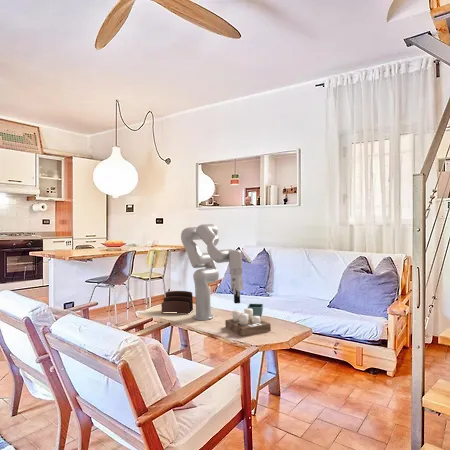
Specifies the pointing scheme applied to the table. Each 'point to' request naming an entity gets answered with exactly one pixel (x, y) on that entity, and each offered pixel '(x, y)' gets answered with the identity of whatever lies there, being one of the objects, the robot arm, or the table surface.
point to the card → (255, 325)
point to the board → (247, 327)
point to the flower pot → (256, 309)
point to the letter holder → (177, 302)
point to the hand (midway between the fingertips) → (237, 303)
